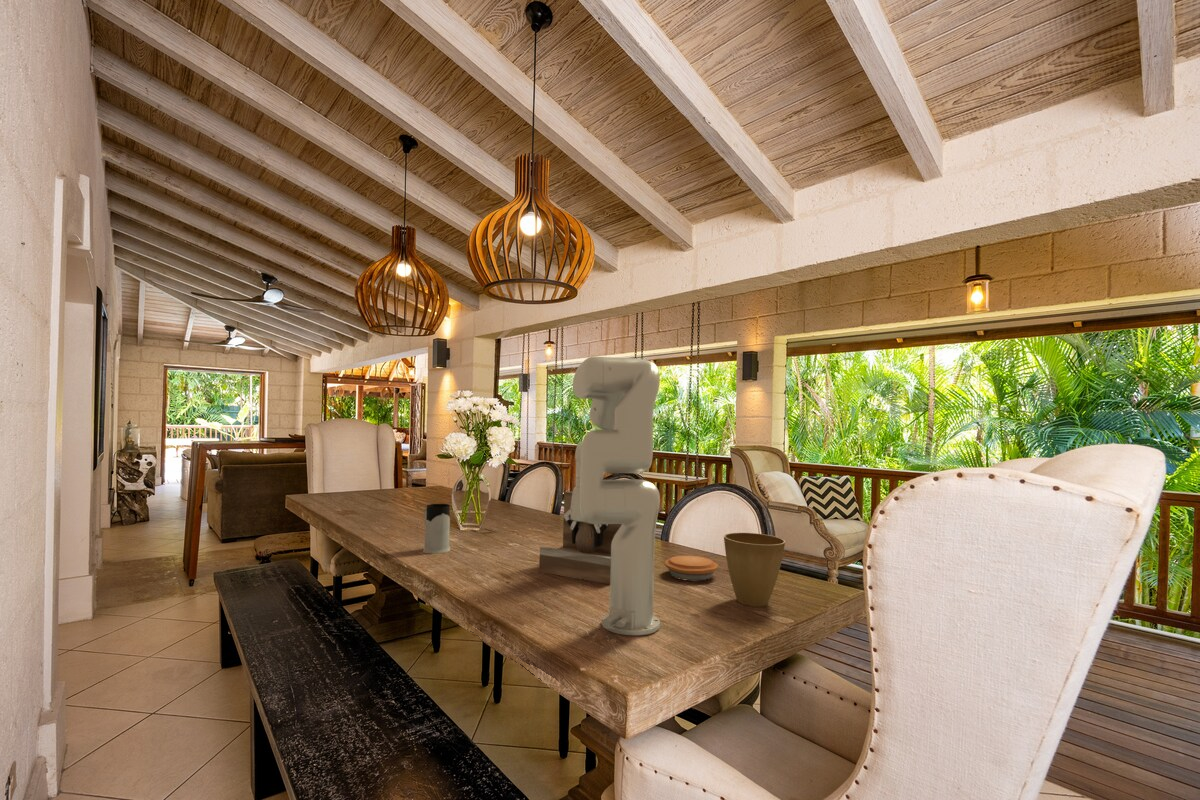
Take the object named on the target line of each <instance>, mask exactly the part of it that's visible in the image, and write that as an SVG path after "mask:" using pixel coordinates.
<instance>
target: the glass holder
mask: <svg viewBox="0 0 1200 800" xmlns="http://www.w3.org/2000/svg"><path fill="white" fill-rule="evenodd" d="M450 507H451V505H450V504H448V503H431V504H430V503H429V504H427V505H426V507H425V509H424V523H425V524H424V525H425V529H424V530H425V531H424V548H423V550H422V552H423V553H426V554H433V555H435V554H445V553H448V552H451V548H450V527H451V526H450V524H451V523H450V522H451V518H450V512H451V511H450V509H451V508H450Z"/></svg>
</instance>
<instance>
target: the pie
mask: <svg viewBox="0 0 1200 800" xmlns="http://www.w3.org/2000/svg"><path fill="white" fill-rule="evenodd" d="M664 565H665V567H666V568H667V569H668V572H669V573H670V576H672V577H673V576H674V577H676V578H675V579H677V578H680V579H687V580H705V581H707V580H706V579H708V580H710V579H711V578H712V576H713V574H714V573H715V572H716V570H717V569H718V568H719V564H718V563H716V562H714V561H713V560H712V559H710V558H707V557H702V556H700V555H699V556H697V555H677V556H676V555H675V556H672V557H670V558H668V559H666V560H665V561H664ZM674 577H673V578H674ZM709 578H710V579H709ZM680 579H679V580H680Z"/></svg>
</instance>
